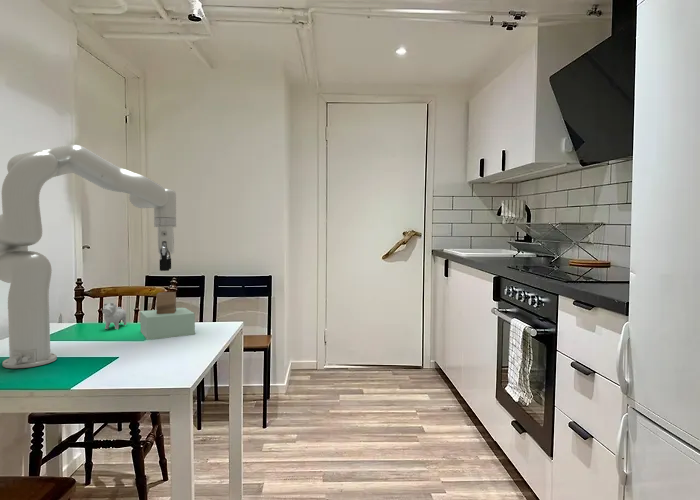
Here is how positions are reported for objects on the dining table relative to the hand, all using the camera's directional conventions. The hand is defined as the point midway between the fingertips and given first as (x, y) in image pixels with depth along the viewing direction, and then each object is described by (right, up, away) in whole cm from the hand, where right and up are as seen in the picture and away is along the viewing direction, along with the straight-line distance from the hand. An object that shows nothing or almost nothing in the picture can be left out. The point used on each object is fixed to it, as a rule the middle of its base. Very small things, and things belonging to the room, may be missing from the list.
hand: (165, 269), depth 167 cm
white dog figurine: (-24, -23, +10) cm, 35 cm away
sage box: (0, -24, +1) cm, 24 cm away
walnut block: (0, -16, +1) cm, 16 cm away
